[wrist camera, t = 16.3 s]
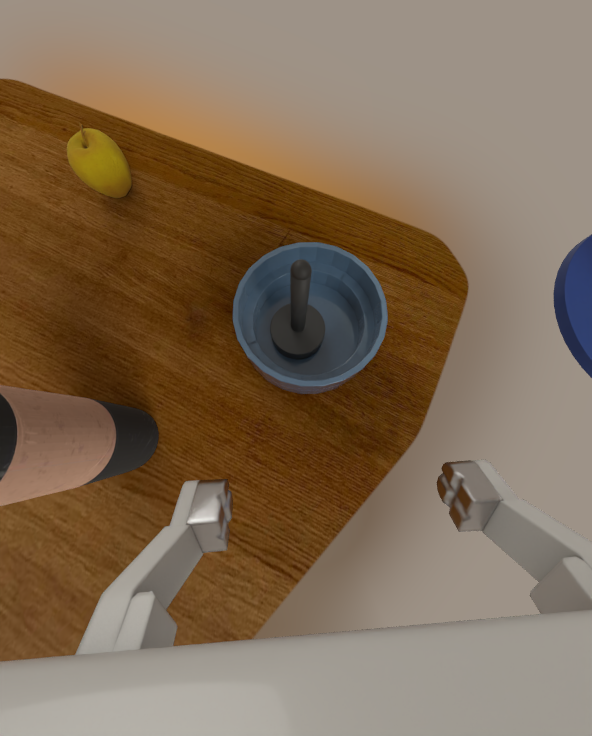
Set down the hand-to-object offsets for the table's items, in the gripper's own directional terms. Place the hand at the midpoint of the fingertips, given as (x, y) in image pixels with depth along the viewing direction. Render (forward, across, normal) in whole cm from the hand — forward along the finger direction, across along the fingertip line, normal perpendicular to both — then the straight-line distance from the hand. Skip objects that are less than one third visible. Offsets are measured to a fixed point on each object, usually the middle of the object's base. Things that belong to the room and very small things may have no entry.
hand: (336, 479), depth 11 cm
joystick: (+25, 0, +6) cm, 26 cm away
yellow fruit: (+42, +24, -10) cm, 50 cm away
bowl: (+26, -1, +6) cm, 27 cm away
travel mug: (+18, +21, +14) cm, 31 cm away
